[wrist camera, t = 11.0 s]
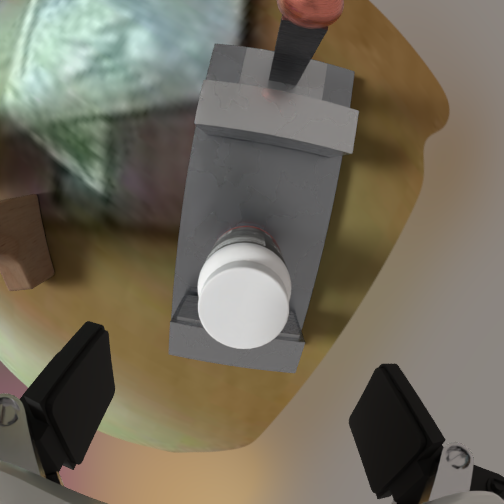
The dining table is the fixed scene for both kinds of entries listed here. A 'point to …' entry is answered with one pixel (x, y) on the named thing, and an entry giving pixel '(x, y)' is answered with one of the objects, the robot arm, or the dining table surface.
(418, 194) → the dining table surface
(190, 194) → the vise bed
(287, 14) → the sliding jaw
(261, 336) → the pill bottle
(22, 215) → the wooden block
